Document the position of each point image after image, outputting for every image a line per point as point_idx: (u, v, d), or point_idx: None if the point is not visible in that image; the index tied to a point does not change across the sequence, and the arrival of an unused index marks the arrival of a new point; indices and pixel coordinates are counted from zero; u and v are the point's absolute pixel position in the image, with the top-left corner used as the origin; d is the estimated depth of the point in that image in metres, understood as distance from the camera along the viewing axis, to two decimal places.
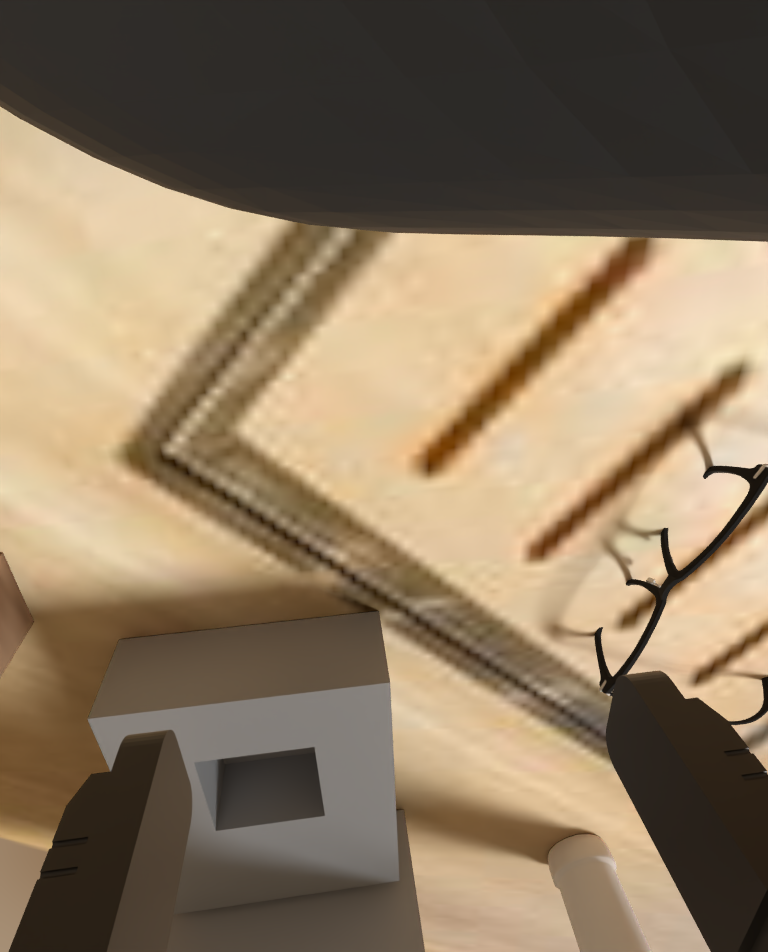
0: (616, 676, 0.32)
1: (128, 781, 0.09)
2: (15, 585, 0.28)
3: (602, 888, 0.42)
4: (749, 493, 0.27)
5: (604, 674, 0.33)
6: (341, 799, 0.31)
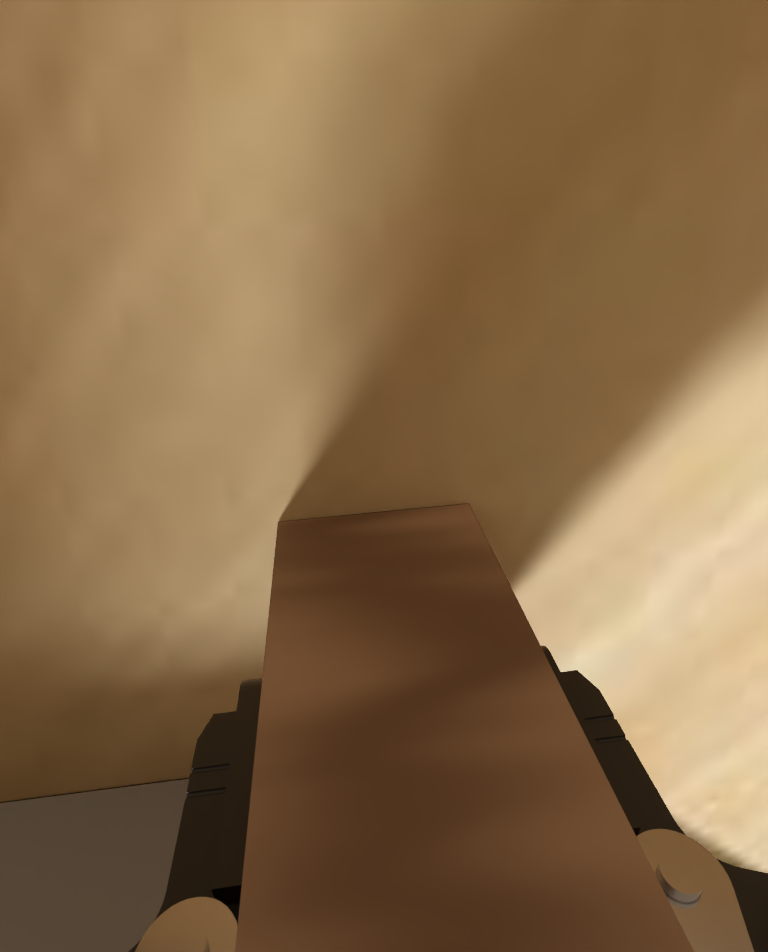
0: None
1: (254, 717, 0.09)
2: None
3: None
4: None
5: None
6: None
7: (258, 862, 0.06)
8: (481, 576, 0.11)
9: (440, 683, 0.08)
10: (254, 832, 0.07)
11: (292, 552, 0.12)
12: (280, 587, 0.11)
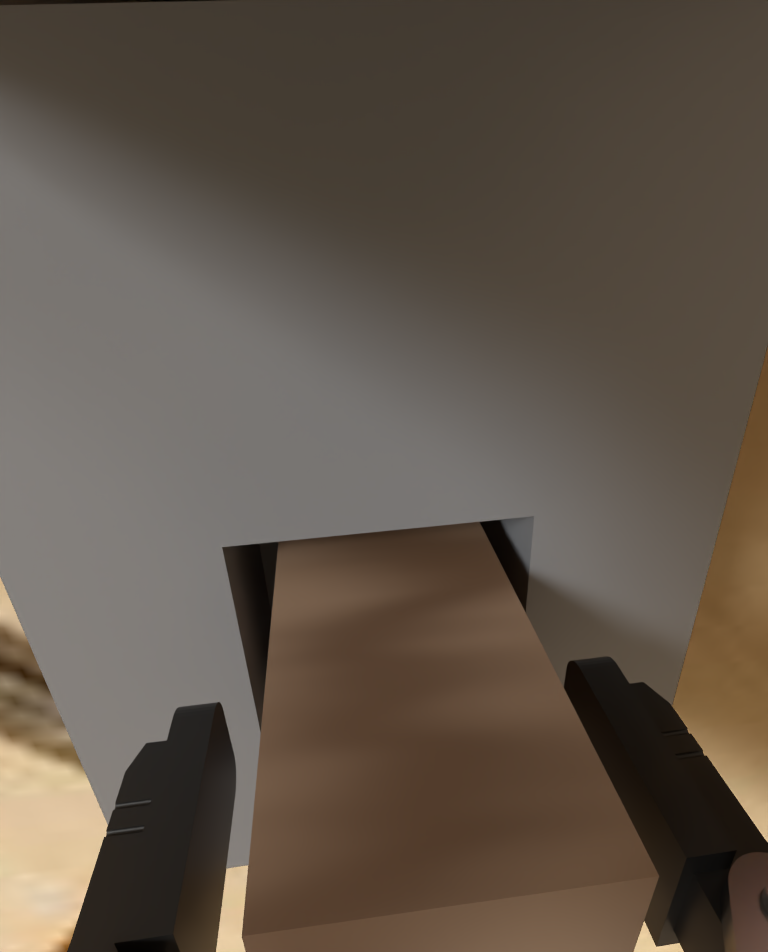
0: None
1: (184, 748, 0.09)
2: None
3: None
4: None
5: None
6: (180, 607, 0.11)
7: (273, 716, 0.08)
8: (460, 524, 0.12)
9: (421, 600, 0.10)
10: (270, 697, 0.08)
11: None
12: None
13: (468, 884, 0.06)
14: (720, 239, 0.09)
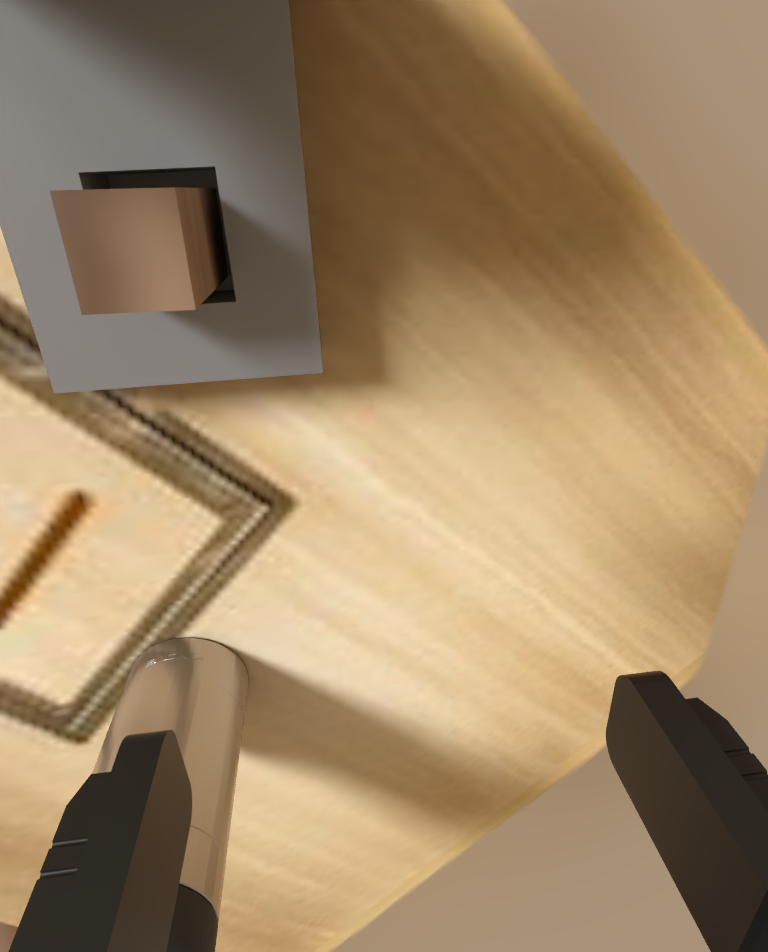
0: None
1: (128, 781, 0.09)
2: None
3: None
4: None
5: None
6: None
7: None
8: None
9: None
10: None
11: None
12: None
13: None
14: (259, 31, 0.24)
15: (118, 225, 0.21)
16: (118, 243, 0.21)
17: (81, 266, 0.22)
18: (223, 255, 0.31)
